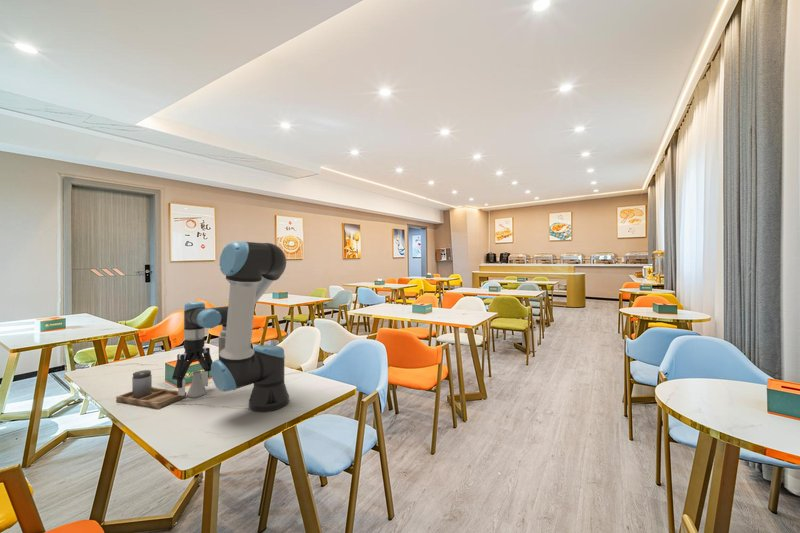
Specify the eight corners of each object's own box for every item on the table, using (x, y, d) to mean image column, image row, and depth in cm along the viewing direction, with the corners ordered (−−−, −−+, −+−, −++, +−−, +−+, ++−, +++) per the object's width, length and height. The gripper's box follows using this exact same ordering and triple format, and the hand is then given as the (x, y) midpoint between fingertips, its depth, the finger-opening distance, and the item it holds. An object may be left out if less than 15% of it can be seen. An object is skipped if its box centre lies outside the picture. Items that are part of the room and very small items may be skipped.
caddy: (186, 397, 141) (186, 392, 141) (158, 409, 129) (158, 403, 129) (146, 391, 148) (146, 386, 148) (116, 402, 136) (116, 396, 136)
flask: (197, 399, 139) (196, 375, 139) (182, 397, 141) (182, 373, 141) (210, 392, 147) (210, 369, 146) (196, 391, 148) (196, 368, 148)
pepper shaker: (155, 394, 142) (155, 370, 142) (139, 400, 136) (139, 375, 136) (144, 392, 144) (144, 369, 144) (128, 398, 138) (128, 374, 138)
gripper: (209, 333, 155) (209, 380, 155) (161, 343, 133) (160, 399, 133) (222, 334, 153) (222, 382, 153) (175, 344, 131) (175, 401, 131)
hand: (193, 390), depth 143 cm, fingers open, 11 cm apart
